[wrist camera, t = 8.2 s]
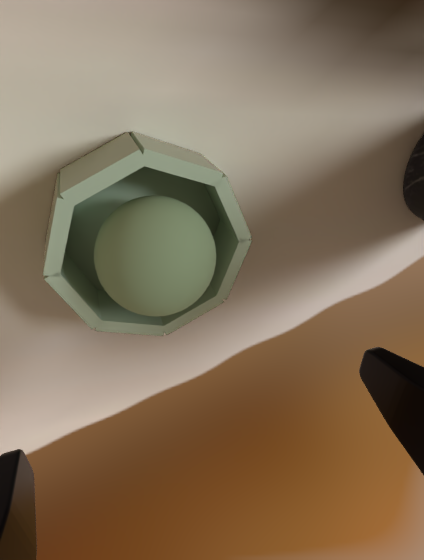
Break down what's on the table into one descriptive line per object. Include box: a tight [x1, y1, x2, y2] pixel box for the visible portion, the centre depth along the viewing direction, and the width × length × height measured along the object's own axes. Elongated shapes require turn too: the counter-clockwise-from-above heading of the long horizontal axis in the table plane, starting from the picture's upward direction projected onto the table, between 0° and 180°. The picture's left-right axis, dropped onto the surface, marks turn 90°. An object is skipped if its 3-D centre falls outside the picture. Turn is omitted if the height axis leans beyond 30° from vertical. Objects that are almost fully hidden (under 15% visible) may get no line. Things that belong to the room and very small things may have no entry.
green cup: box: [43, 132, 252, 336], centre depth 17 cm, size 8×8×3 cm
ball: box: [94, 195, 216, 317], centre depth 16 cm, size 5×5×5 cm
